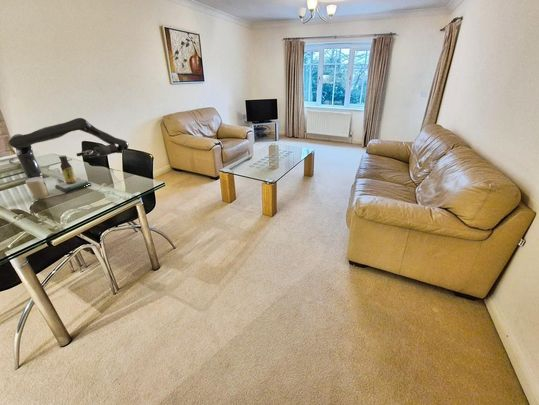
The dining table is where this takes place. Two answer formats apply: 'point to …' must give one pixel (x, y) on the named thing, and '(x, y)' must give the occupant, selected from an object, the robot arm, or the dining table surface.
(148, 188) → the dining table surface
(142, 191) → the dining table surface
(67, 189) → the kitchen scale
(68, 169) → the sauce bottle
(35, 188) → the coffee cup
